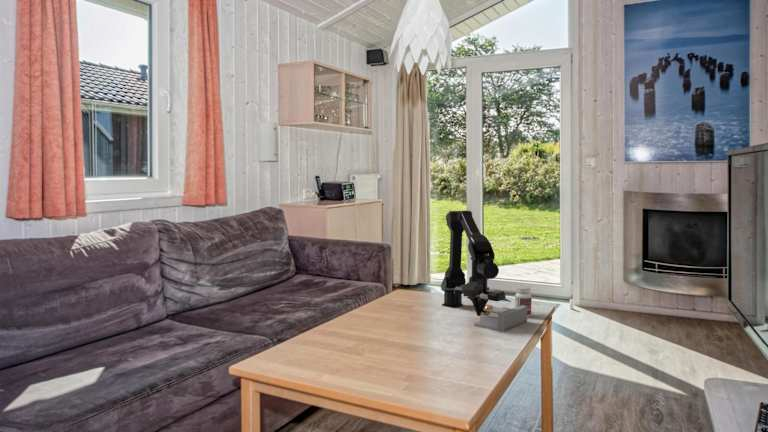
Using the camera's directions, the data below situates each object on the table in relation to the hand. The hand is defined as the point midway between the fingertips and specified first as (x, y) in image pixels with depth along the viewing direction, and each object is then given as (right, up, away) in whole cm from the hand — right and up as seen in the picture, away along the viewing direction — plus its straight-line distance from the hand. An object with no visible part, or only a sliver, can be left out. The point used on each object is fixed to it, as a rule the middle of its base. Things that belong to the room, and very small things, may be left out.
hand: (478, 315), depth 206 cm
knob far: (+7, -1, +5) cm, 8 cm away
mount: (+8, -3, -1) cm, 8 cm away
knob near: (+4, -2, -3) cm, 6 cm away
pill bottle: (+19, -2, +10) cm, 22 cm away
